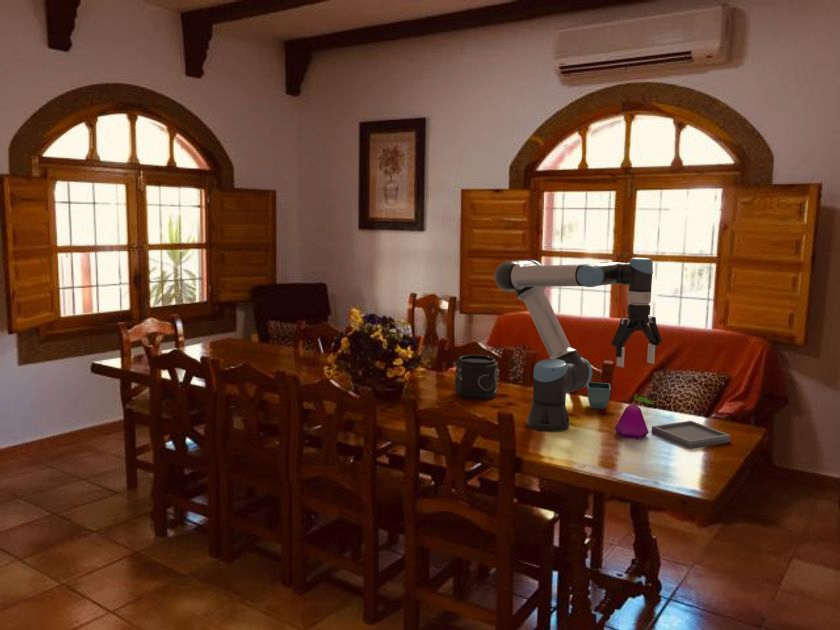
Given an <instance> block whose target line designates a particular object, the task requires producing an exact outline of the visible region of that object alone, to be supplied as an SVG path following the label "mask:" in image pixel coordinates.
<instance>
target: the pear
mask: <svg viewBox="0 0 840 630" xmlns="http://www.w3.org/2000/svg"><path fill="white" fill-rule="evenodd" d="M636 401H638V402H642V403H645V404H650V405H654V403H653V402H652V401H650V399H648V398H647V397H645V396H643V395H640V396H639V397H638V394H637V393H634V396H633V401H632V402H631V403H630V404H628V405H627V406H626V407H625V408H624V411H623V412H622V414H621V416H620V418H618V422H617V423H616V425H615V426H614V430H615V432H616V434H618V435H619V436H620V437H622V438H624V439H630V438H631V439H632V440H640V439H644V438H645V437H647V436H648V434H649V430H648V426H647V424H646V420H645V418H644V415H643V411H642V410H641V409H642V408H640V406H638V404H637V403H636Z"/></svg>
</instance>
